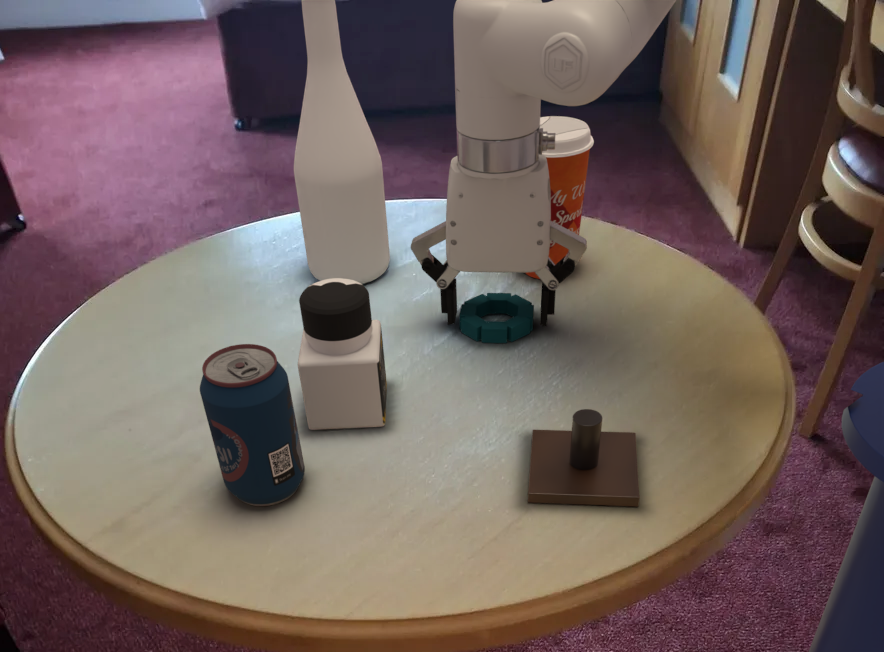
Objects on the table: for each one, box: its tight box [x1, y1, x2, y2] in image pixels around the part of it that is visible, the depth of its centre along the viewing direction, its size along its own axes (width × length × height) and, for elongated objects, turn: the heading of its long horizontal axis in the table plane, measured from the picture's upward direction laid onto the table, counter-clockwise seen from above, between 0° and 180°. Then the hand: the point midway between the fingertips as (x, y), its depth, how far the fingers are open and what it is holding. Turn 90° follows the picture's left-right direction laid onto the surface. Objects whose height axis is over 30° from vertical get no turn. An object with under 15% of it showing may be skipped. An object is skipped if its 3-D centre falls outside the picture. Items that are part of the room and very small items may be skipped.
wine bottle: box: [293, 0, 391, 285], centre depth 96 cm, size 10×10×30 cm
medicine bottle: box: [297, 278, 388, 431], centre depth 82 cm, size 7×7×12 cm
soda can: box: [199, 343, 306, 507], centre depth 74 cm, size 7×7×12 cm
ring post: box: [527, 408, 641, 508], centre depth 76 cm, size 9×9×6 cm
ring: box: [458, 292, 535, 344], centre depth 95 cm, size 8×8×2 cm
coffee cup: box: [524, 115, 595, 280], centre depth 99 cm, size 8×8×15 cm
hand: (498, 319), depth 95 cm, fingers open, 9 cm apart
